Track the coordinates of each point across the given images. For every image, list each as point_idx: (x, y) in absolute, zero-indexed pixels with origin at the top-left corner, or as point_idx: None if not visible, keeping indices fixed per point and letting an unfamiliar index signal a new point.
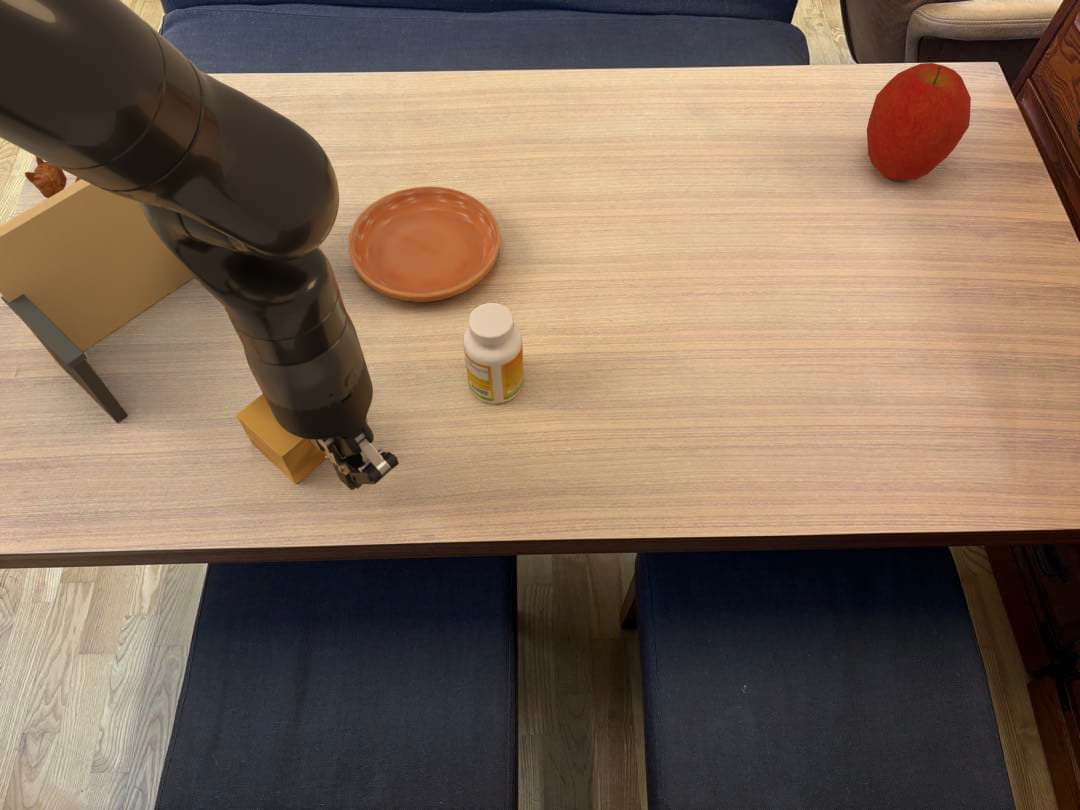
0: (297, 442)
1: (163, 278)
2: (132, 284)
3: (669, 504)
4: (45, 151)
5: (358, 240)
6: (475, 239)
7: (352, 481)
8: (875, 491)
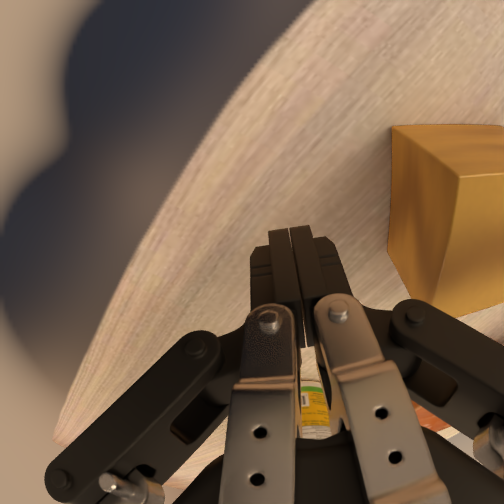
0: (453, 230)
1: None
2: None
3: (91, 401)
4: None
5: None
6: (422, 415)
7: (267, 263)
8: (76, 434)
